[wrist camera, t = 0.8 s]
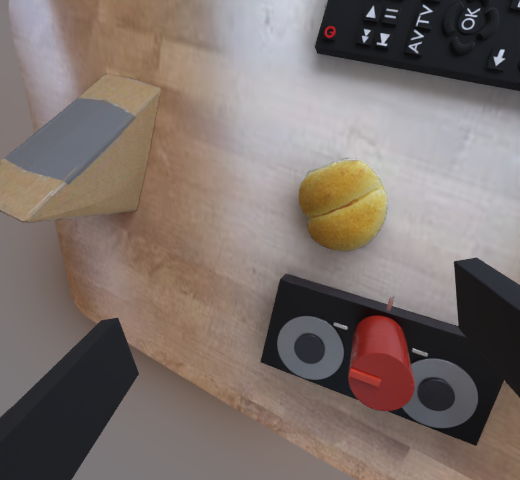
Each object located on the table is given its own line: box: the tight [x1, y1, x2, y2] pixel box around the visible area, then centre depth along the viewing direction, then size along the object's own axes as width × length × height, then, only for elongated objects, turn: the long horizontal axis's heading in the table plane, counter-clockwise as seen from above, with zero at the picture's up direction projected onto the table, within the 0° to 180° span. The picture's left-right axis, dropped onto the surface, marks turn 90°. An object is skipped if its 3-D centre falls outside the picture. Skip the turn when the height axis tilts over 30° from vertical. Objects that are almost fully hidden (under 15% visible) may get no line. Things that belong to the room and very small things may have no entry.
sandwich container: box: [0, 74, 161, 223], centre depth 35 cm, size 9×15×15 cm, turn 163°
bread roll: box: [299, 158, 388, 251], centre depth 33 cm, size 8×9×4 cm
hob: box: [261, 274, 504, 446], centre depth 35 cm, size 22×12×3 cm, turn 78°
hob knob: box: [348, 316, 415, 411], centre depth 30 cm, size 5×5×8 cm
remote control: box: [315, 0, 520, 91], centre depth 28 cm, size 8×32×2 cm, turn 74°
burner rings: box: [277, 315, 478, 428], centre depth 34 cm, size 19×7×1 cm, turn 78°
